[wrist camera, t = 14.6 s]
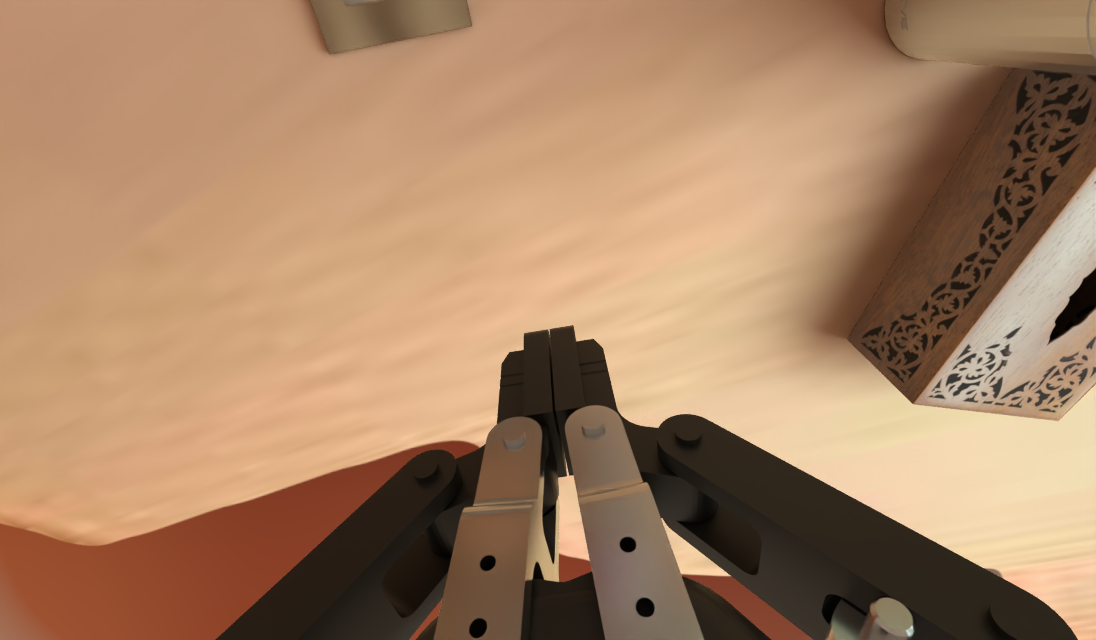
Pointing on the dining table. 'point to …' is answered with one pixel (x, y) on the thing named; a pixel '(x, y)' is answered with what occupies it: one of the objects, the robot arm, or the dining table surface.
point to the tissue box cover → (1001, 264)
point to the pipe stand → (385, 20)
